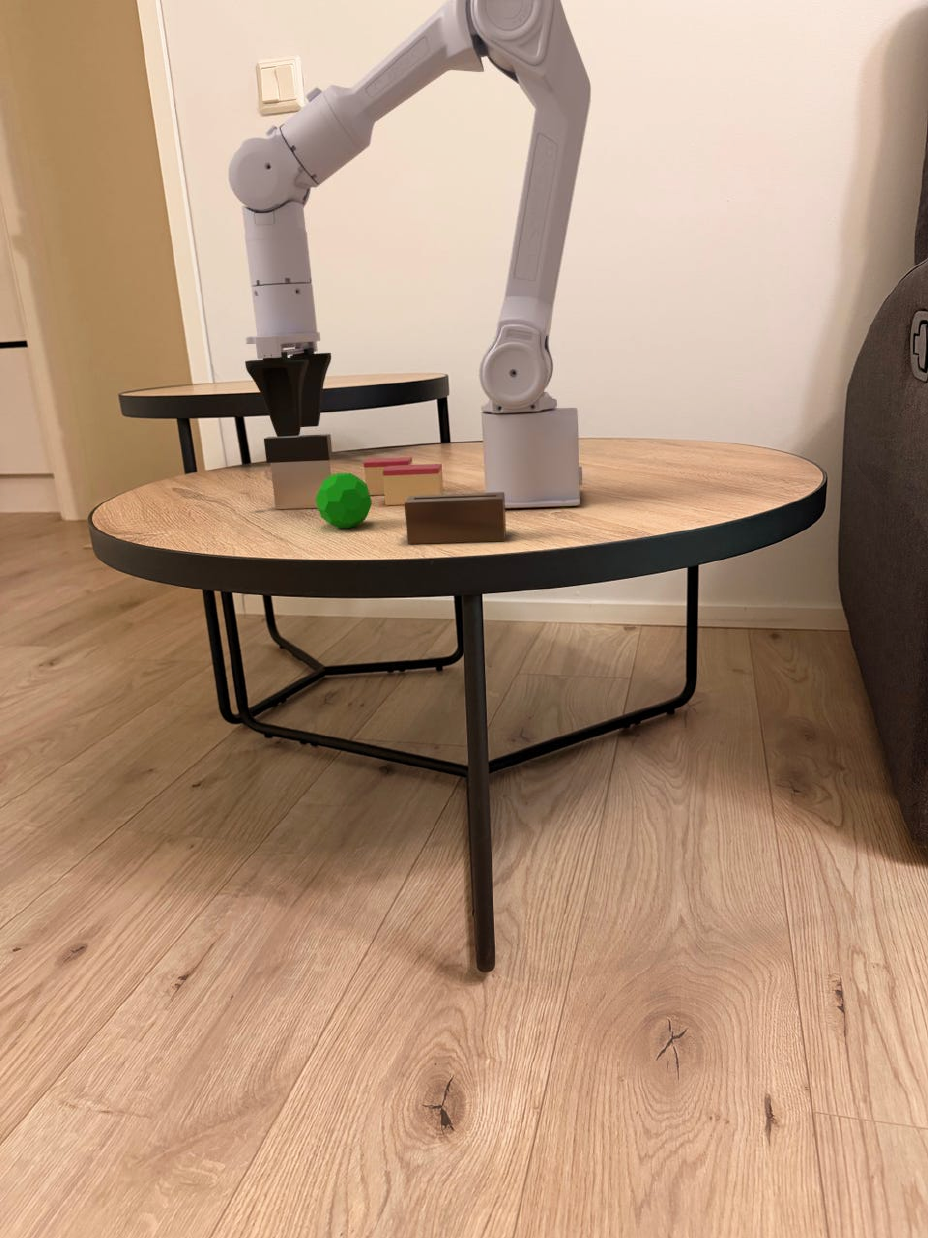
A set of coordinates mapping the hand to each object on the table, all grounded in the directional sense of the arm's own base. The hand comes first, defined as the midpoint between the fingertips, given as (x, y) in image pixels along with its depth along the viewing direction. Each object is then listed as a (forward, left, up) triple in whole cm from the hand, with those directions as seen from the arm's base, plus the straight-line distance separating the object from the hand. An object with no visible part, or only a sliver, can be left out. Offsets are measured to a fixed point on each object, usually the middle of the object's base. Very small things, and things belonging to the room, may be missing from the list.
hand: (298, 431), depth 91 cm
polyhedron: (-6, +10, -8) cm, 14 cm away
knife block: (-17, +16, -8) cm, 25 cm away
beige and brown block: (0, 0, -8) cm, 8 cm away
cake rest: (-11, -1, -8) cm, 13 cm away
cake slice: (-7, -7, -8) cm, 13 cm away
